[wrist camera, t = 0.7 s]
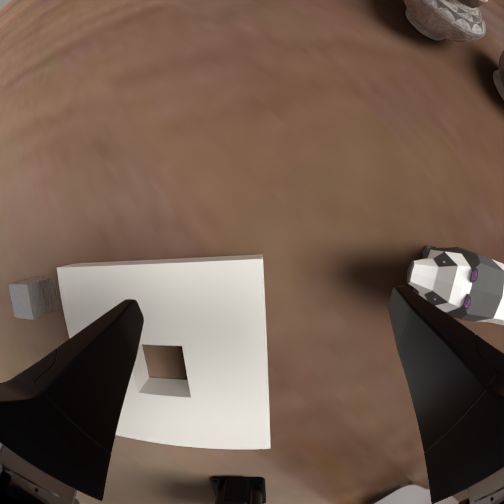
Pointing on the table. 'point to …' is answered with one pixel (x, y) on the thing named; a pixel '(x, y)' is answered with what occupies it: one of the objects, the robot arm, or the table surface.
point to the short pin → (34, 297)
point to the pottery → (452, 24)
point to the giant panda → (460, 283)
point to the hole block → (186, 345)
